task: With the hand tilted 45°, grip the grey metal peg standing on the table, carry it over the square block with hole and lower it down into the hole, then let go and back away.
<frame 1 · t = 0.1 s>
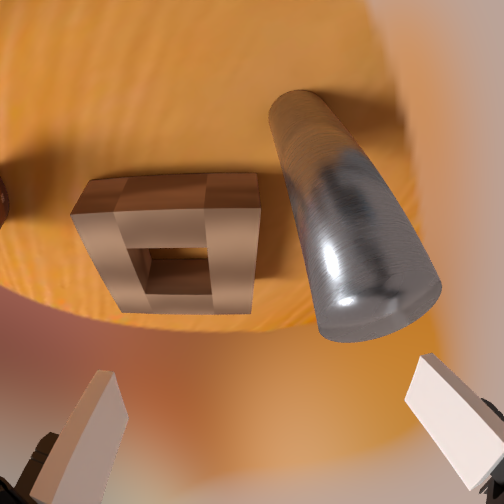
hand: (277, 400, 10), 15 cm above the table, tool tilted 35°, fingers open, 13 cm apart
square block with hole: (177, 237, 24), on the table
peg: (299, 117, 17), on the table
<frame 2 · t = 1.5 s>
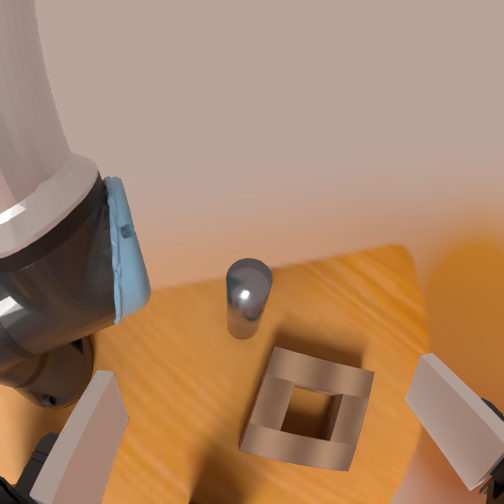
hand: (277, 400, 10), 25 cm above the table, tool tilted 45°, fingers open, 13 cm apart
square block with hole: (304, 412, 31), on the table
peg: (243, 324, 37), on the table
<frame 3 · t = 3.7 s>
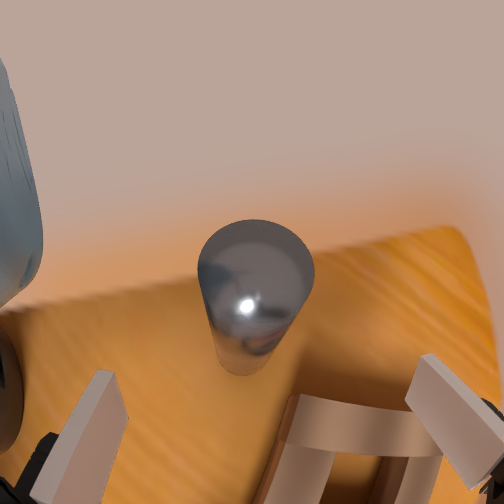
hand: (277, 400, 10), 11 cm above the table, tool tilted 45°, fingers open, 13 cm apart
square block with hole: (342, 482, 16), on the table
peg: (242, 351, 22), on the table
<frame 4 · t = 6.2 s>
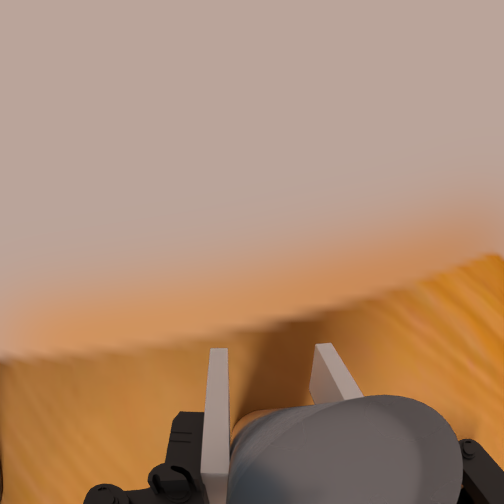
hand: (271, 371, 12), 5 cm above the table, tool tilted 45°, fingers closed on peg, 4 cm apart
peg: (264, 439, 14), on the table, touching gripper
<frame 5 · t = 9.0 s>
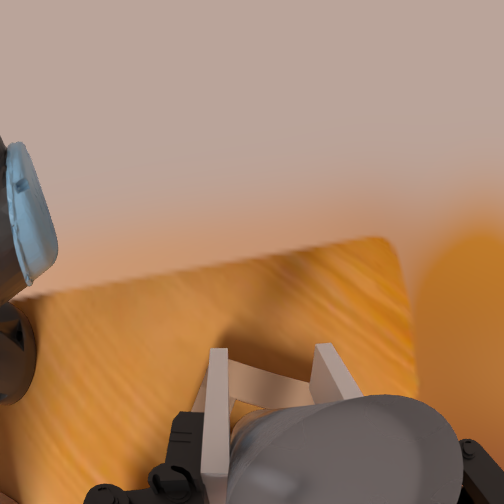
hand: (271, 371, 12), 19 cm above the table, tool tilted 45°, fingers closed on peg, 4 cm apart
square block with hole: (253, 432, 26), on the table
peg: (264, 439, 14), point 14 cm above the table, touching gripper
when the fingers open (7 cm above the table, at t = 12.1 s): peg drops 2 cm, resting in square block with hole.
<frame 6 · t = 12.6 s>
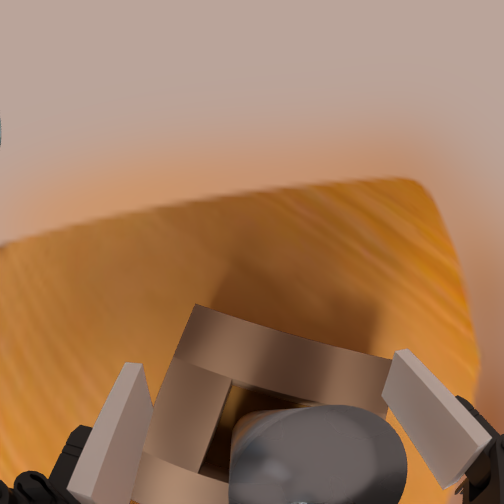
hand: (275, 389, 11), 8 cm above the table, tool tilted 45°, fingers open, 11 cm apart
square block with hole: (261, 437, 16), on the table
peg: (261, 437, 16), resting in square block with hole
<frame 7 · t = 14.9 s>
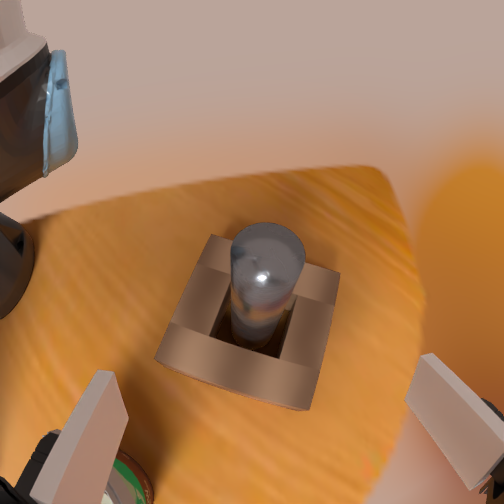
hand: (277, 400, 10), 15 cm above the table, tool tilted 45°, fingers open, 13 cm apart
square block with hole: (252, 329, 27), on the table
peg: (252, 329, 27), resting in square block with hole
food container: (135, 490, 17), on the table
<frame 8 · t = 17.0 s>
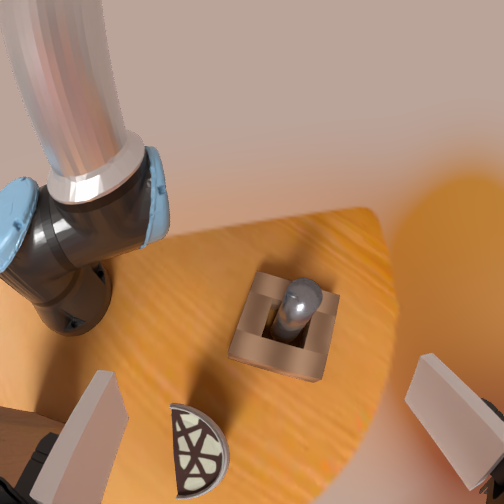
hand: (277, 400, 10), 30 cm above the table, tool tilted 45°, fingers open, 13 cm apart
square block with hole: (283, 331, 42), on the table
peg: (283, 331, 42), resting in square block with hole
wooden block: (55, 447, 28), on the table
food container: (208, 445, 32), on the table
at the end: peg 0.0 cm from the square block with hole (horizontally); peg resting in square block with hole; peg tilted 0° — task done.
